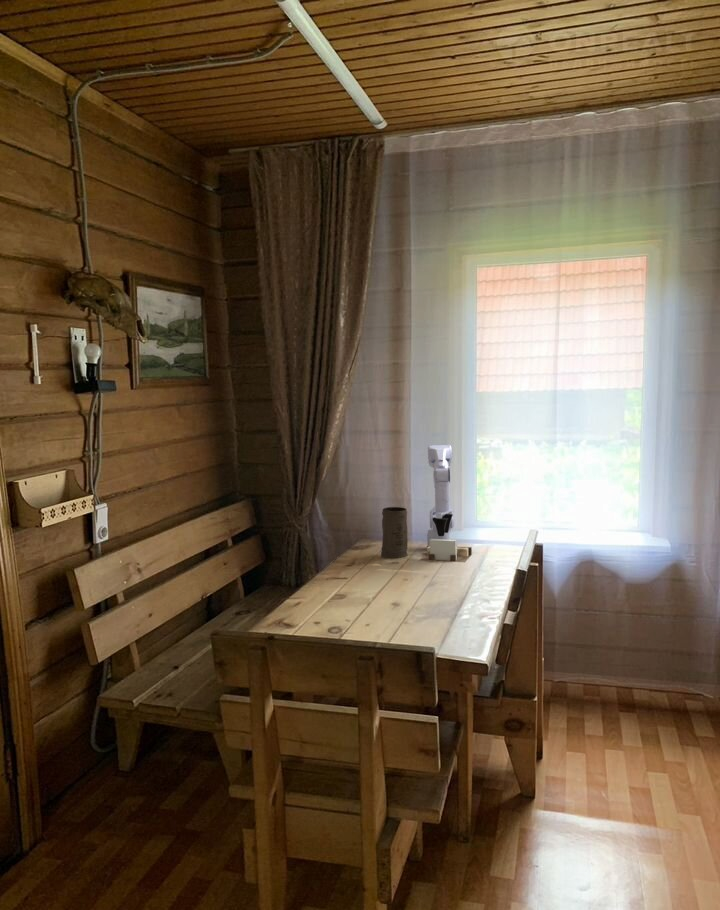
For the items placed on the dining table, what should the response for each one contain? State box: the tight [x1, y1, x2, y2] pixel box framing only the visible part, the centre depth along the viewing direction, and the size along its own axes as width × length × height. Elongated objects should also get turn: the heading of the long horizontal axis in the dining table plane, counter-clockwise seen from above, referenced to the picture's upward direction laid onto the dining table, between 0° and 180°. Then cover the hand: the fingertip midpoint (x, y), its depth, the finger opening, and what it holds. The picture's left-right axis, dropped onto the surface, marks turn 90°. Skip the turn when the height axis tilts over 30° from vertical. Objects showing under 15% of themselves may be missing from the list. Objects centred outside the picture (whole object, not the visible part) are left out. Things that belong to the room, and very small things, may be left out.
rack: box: [419, 545, 473, 563], centre depth 272 cm, size 18×14×4 cm
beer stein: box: [380, 506, 409, 560], centre depth 279 cm, size 15×11×20 cm
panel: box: [430, 539, 458, 560], centre depth 269 cm, size 10×3×8 cm, turn 71°
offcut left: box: [426, 546, 430, 555], centre depth 278 cm, size 6×3×3 cm, turn 71°
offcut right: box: [457, 546, 469, 557], centre depth 274 cm, size 6×3×3 cm, turn 71°
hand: (443, 534), depth 269 cm, fingers open, 7 cm apart
